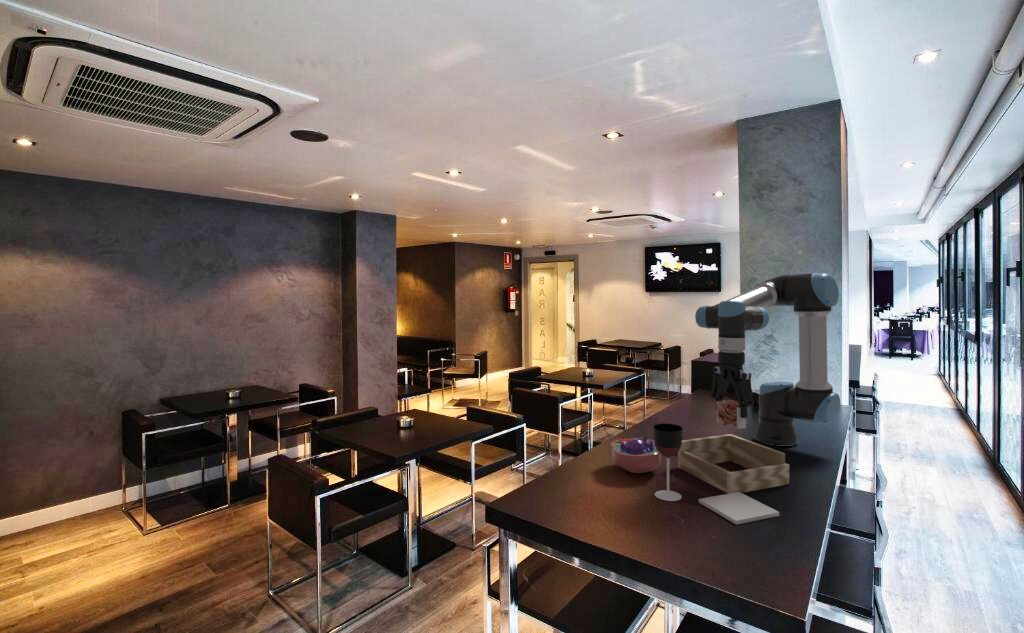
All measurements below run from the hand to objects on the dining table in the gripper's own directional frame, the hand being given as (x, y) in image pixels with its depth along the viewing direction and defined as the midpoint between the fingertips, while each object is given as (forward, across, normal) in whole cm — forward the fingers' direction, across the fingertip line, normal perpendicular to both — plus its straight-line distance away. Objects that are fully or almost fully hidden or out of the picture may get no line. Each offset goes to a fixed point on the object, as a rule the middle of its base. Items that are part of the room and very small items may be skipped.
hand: (730, 424), depth 150 cm
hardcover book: (+19, -36, +2) cm, 41 cm away
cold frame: (+18, -4, +4) cm, 19 cm away
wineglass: (+18, +2, -24) cm, 30 cm away
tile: (+18, +16, -12) cm, 27 cm away
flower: (+1, 0, 0) cm, 1 cm away
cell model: (+18, -19, -21) cm, 34 cm away
